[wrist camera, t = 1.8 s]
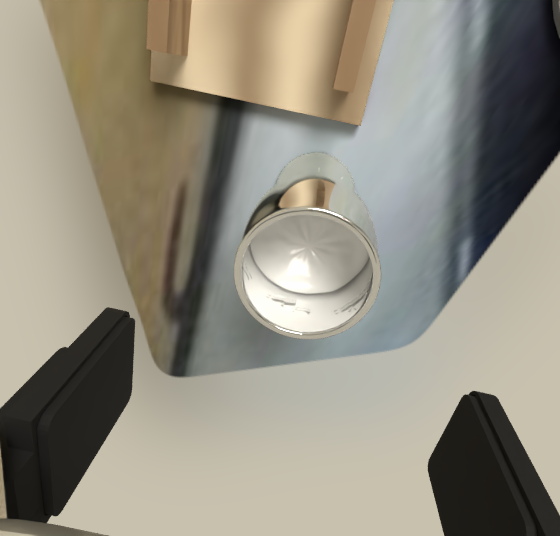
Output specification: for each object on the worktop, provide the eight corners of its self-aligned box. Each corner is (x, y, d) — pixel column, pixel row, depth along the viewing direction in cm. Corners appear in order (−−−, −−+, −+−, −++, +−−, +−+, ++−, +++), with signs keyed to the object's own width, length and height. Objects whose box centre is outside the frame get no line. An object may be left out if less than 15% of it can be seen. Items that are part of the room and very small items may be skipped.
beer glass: (357, 235, 33) (378, 347, 19) (271, 232, 33) (233, 339, 20) (363, 146, 30) (394, 204, 16) (269, 145, 30) (223, 200, 17)
